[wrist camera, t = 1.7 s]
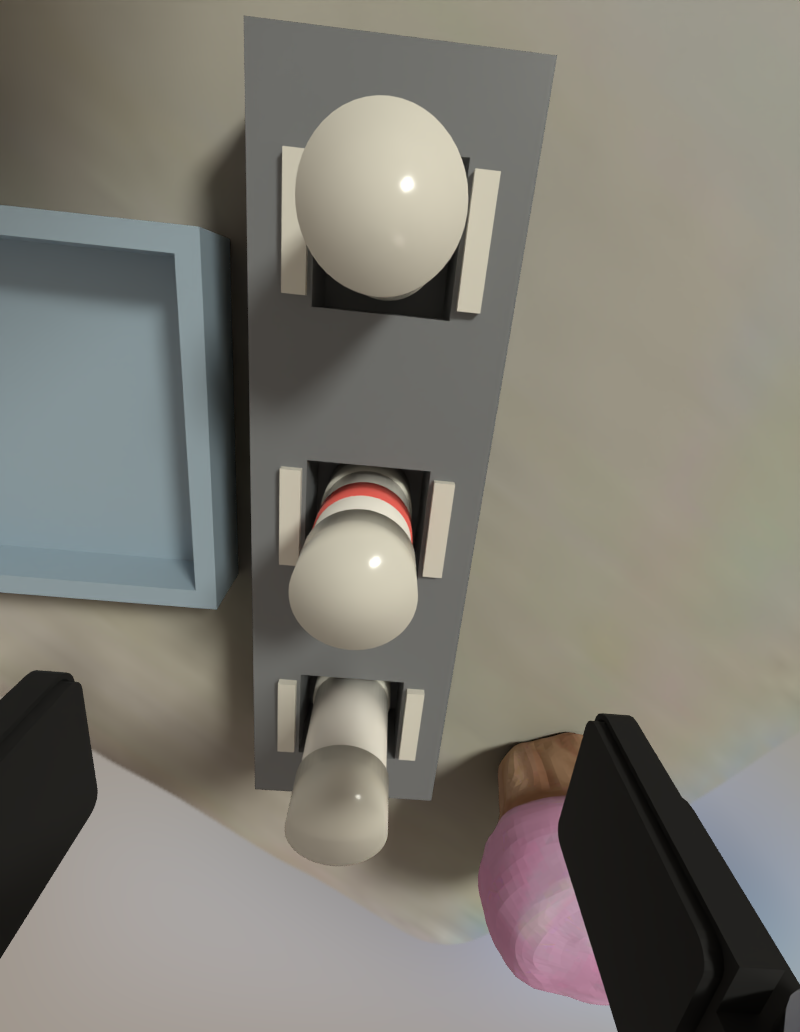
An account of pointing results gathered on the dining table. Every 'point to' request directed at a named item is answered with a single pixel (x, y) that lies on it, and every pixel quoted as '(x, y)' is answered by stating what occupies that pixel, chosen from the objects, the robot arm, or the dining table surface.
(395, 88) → the fuse holder
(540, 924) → the cupcake
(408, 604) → the cylinder
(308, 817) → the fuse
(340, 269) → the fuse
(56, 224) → the tray
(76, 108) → the dining table surface
